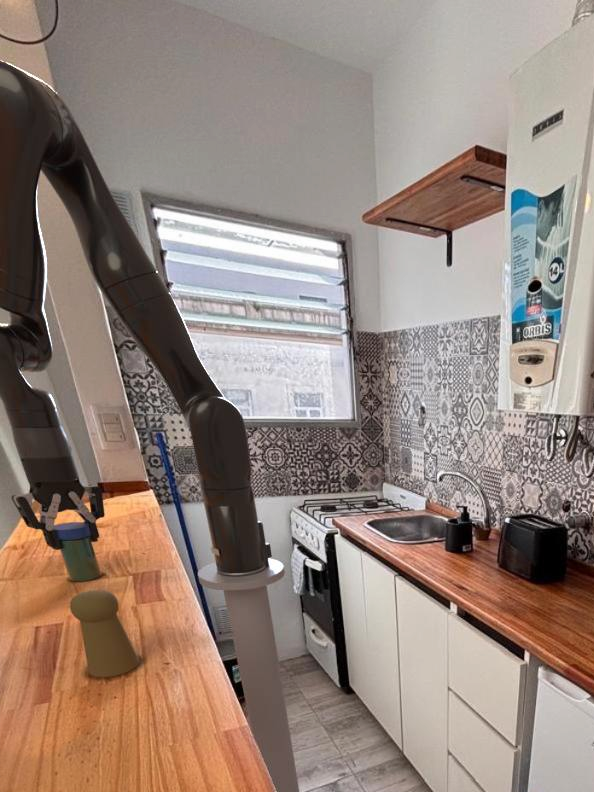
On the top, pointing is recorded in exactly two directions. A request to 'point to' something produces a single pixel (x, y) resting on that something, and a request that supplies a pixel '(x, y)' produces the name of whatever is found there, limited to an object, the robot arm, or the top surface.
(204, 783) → the top surface
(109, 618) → the cork
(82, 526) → the jar lid
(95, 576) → the jam jar
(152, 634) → the top surface
